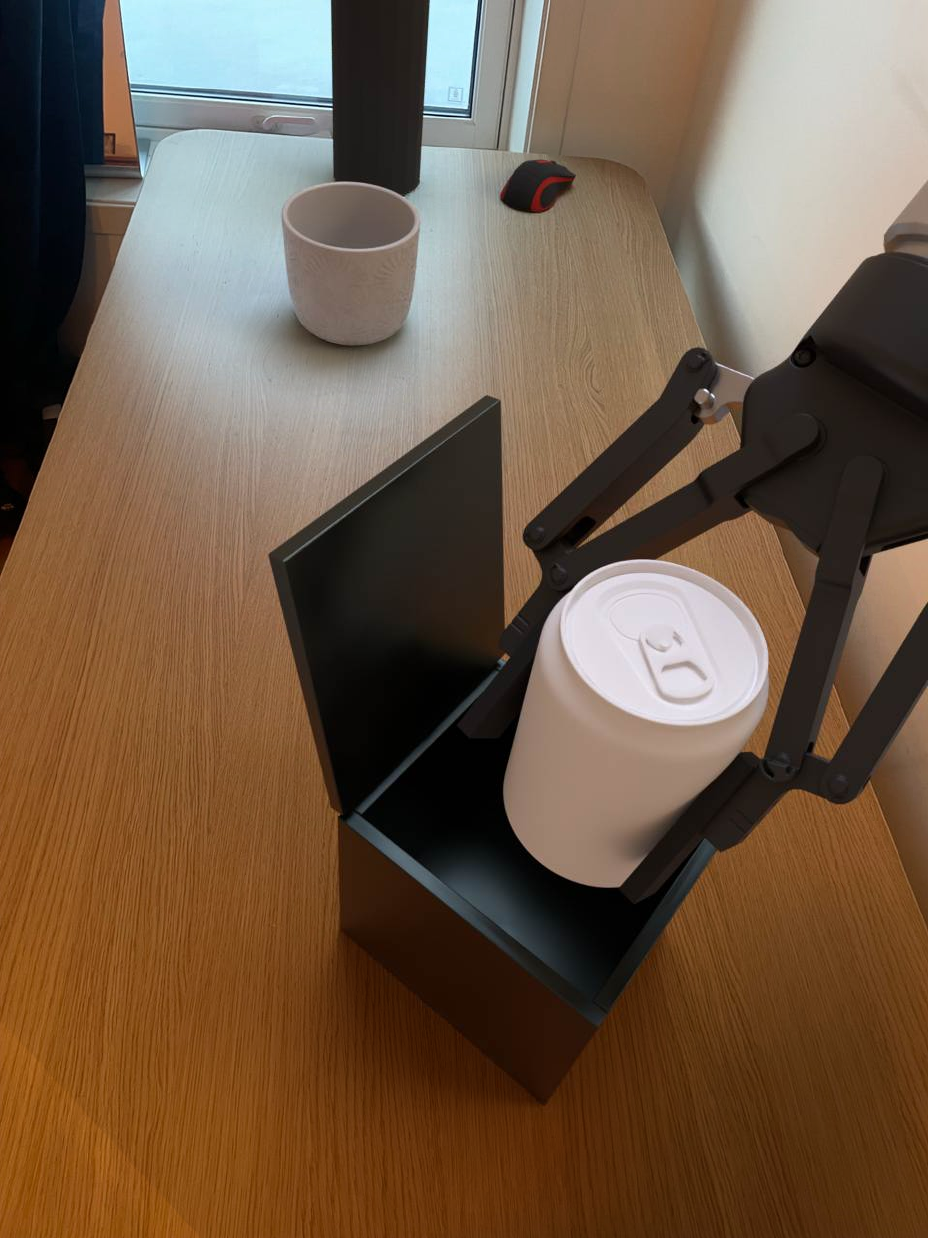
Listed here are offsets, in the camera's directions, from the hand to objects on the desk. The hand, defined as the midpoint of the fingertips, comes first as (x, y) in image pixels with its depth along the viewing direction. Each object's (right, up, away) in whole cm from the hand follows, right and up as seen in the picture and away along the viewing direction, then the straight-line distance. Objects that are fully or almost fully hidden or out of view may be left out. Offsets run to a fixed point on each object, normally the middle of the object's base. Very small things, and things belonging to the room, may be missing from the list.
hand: (553, 807), depth 36 cm
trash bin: (-1, -11, +19) cm, 22 cm away
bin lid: (-6, +7, +5) cm, 10 cm away
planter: (-15, +36, +56) cm, 68 cm away
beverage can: (+2, -1, +5) cm, 5 cm away
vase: (-14, +60, +75) cm, 97 cm away
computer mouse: (+5, +59, +77) cm, 97 cm away
